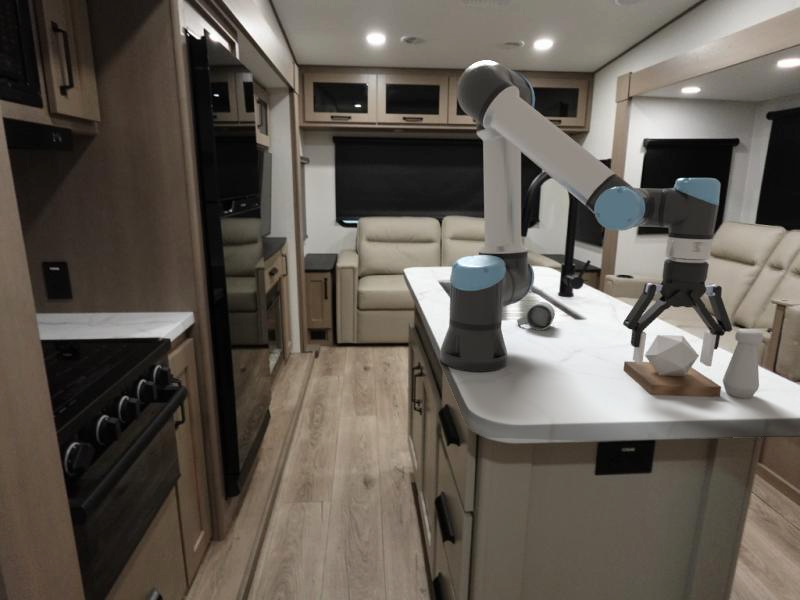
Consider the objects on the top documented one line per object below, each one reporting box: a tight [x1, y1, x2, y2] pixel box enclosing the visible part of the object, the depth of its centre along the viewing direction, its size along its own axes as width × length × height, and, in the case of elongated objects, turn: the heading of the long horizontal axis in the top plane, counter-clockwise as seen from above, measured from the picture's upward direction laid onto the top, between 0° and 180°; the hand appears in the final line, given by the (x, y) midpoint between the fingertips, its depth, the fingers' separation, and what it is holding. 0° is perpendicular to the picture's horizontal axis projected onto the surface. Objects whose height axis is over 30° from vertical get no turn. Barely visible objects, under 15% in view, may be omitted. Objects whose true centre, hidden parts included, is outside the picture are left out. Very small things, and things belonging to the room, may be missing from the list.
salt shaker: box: [722, 328, 764, 399], centre depth 93 cm, size 6×6×13 cm
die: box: [644, 334, 700, 376], centre depth 98 cm, size 8×9×10 cm
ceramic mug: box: [516, 301, 556, 331], centre depth 139 cm, size 10×8×7 cm
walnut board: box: [623, 361, 722, 398], centre depth 99 cm, size 13×13×2 cm
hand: (671, 363), depth 99 cm, fingers open, 13 cm apart
